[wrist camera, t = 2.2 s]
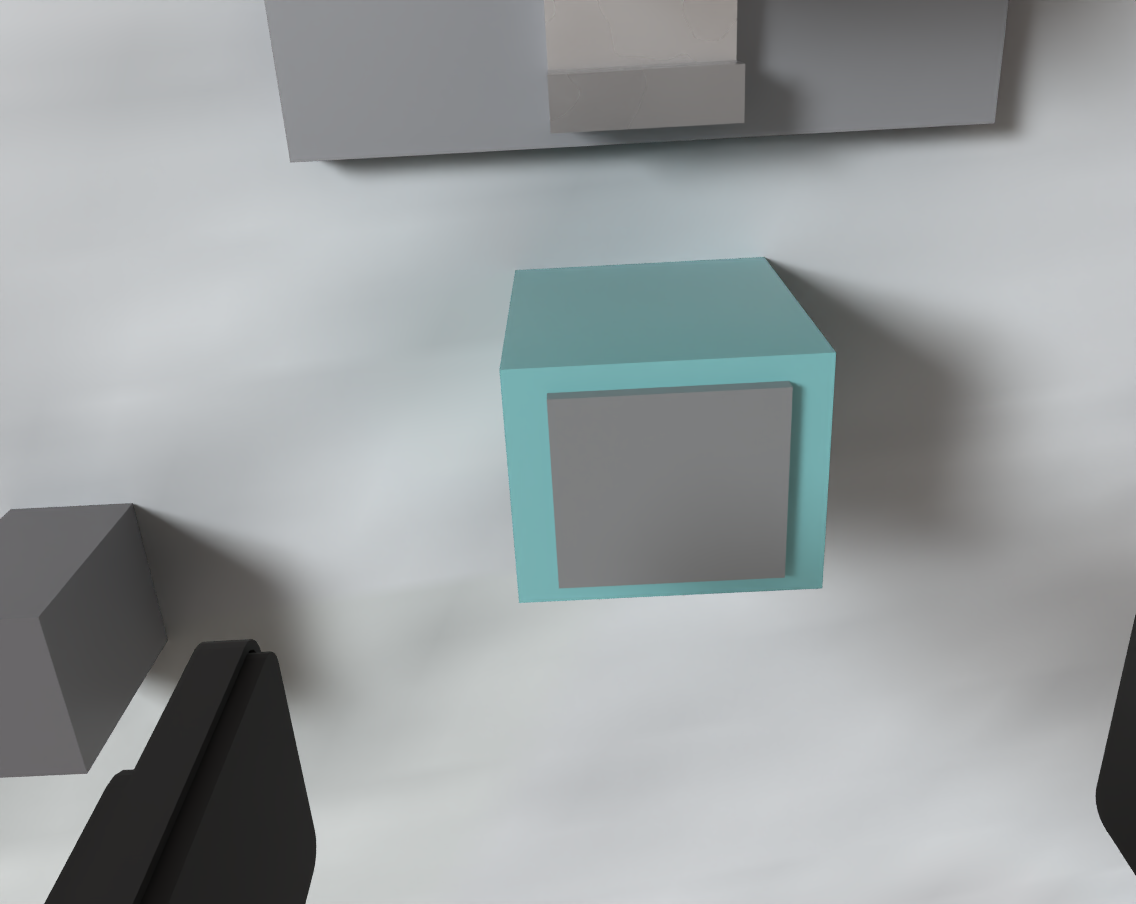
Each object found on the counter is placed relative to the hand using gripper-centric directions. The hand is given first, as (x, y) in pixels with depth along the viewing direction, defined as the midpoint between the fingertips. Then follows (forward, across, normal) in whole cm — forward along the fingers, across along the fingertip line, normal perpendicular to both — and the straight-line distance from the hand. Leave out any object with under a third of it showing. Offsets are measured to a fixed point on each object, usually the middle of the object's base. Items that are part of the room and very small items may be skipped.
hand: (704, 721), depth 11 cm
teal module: (+13, 0, +1) cm, 13 cm away
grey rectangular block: (+13, +14, +6) cm, 20 cm away
